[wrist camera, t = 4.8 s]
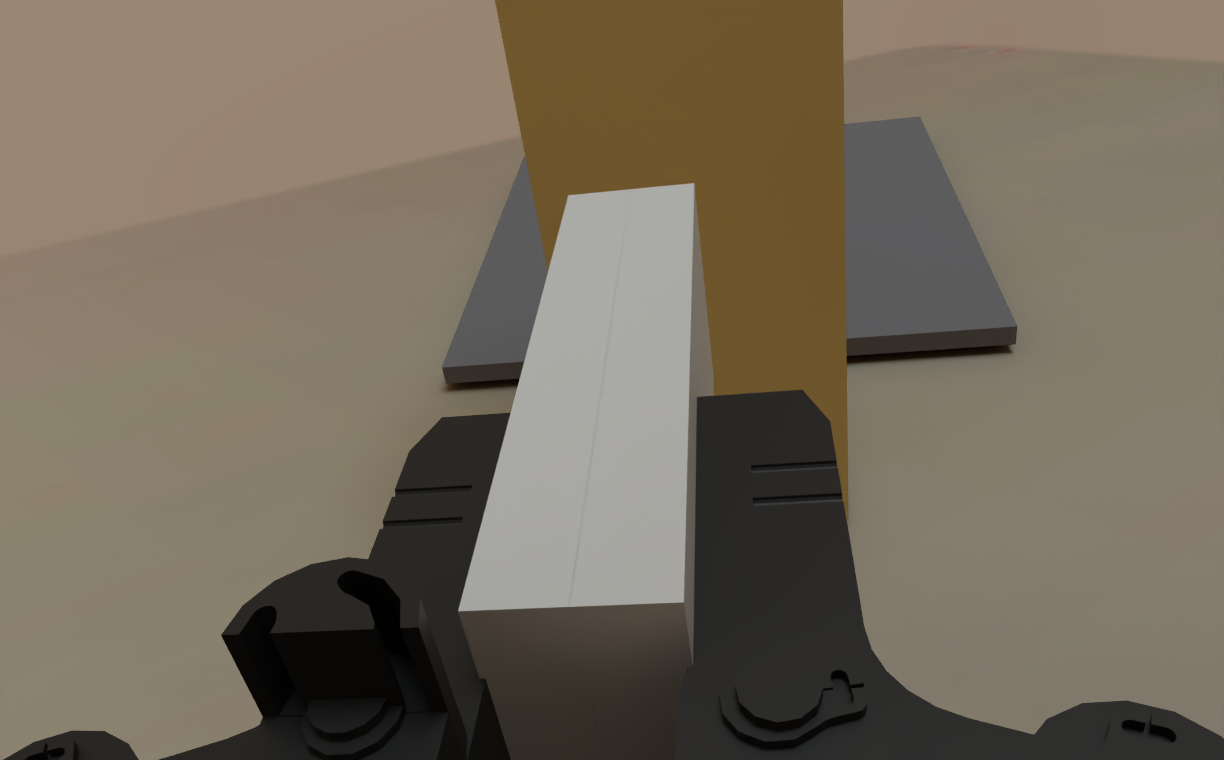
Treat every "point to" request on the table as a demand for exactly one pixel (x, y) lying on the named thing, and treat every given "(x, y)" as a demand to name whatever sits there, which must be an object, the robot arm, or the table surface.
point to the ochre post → (708, 160)
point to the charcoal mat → (874, 251)
